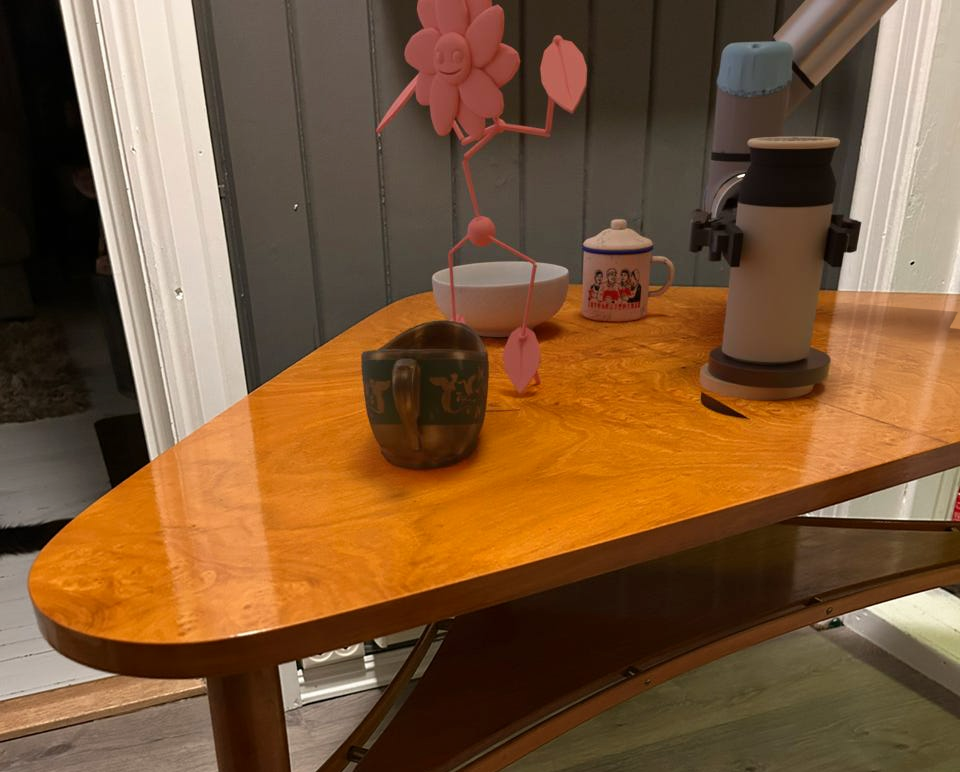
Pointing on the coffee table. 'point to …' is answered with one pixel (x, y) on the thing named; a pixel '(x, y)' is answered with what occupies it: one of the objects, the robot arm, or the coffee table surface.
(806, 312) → the travel mug
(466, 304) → the cereal bowl
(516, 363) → the figurine
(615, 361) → the coffee table surface
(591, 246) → the teacup with lid
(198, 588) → the coffee table surface
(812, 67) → the robot arm
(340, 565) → the coffee table surface
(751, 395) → the coaster pile
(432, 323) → the cup
